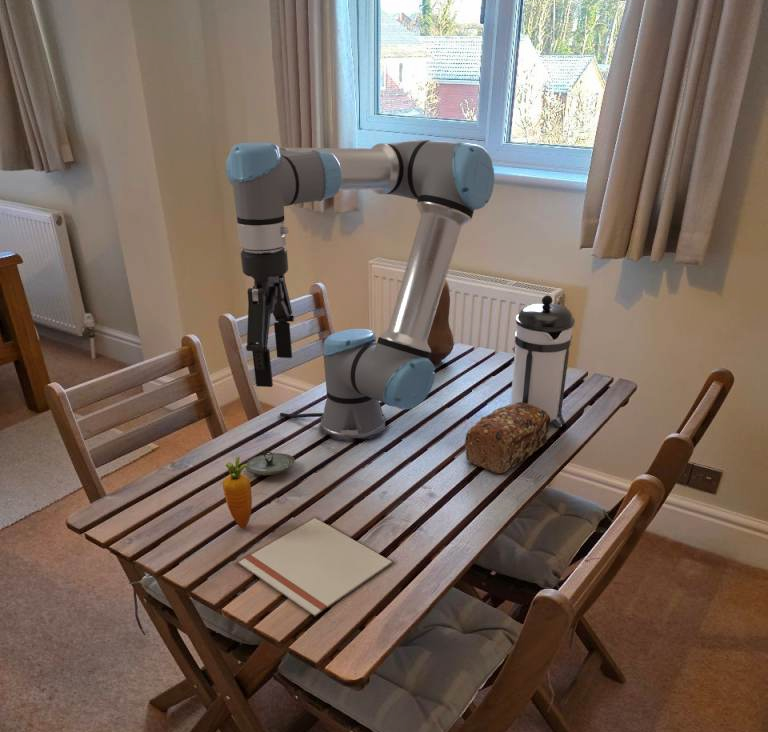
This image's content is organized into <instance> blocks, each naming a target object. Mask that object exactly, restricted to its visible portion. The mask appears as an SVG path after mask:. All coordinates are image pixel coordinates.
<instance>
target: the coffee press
mask: <svg viewBox="0 0 768 732" xmlns="http://www.w3.org/2000/svg"><path fill="white" fill-rule="evenodd" d="M553 301H554V300H553V297H552V296H551V295H547V294H546V295H544V296H543V297H542V299H541V302H536V303H531V304H528V305H526V306H524V307H523V308H521V310H520V311H519V312H518V314H517V315H516V317H515V324H516V331H515V333H514V334H515V335H514V344H515V345H514V347H515V353H514V356H513V357H514V358H513V367H512V368H513V371H512V381H511V392H510V393H511V394H510V404H509V405H512V404H516V403H519V402H523V403H526V404H530V405H532V406H535V407H537V408H539V409H541V410H544V411H546V412H547V413H548V414H549V416H550V422H553V423H554V424H555V425H556V426H557V428H563V427H564V426H565V424H566V421H565V420H564V418H563V414H562V412H563V411H562V410H563V404H564V394H565V387H566V381H567V379H566V378H567V371H568V365H569V364H568V363H569V356H570V348H571V345H572V339H573V336H572V332H573V328H574V326H575V321H576V319H575V317H574V316H573V313H572V311H571V310H570V309H568V308H567V307H565V306H563V305H560V304H557V303H553ZM557 419H559V420H557ZM559 421H560V422H559Z"/></svg>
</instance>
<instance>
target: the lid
mask: <svg viewBox="0 0 768 732" xmlns="http://www.w3.org/2000/svg"><path fill="white" fill-rule="evenodd" d="M295 461H296V459H295V457H294V456H292V455H290V454H288V453H281V452H271V451H270V450H267V451H264V452H263V454H261V455H257V456H254V457H252V458H250V459H249V460H247V462H246V463H245V464H246V465H247V467H245V468H244V469H245V470H246V471H247V472H248V473H250V474H253V475H258V476H272V475H276V474H279V473H283V472H285V471H287V470H289V469H290V468H291V467H292V466H294V464H295Z"/></svg>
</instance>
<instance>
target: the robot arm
mask: <svg viewBox="0 0 768 732" xmlns="http://www.w3.org/2000/svg"><path fill="white" fill-rule="evenodd" d="M225 173H226V177H227V179H228V181H229V183H230V185H231V186H232V189H233V197H234V207H235V212H236V213H235V215H236V226H237V235H238V236H237V237H238V245H239V247H240V249H242V250H241V252H240V261H241V269H242V273H243V274H244V275H245V276H247V277H250V278H252V279H253V286H252V288H250V287H249V288H247V291H246V292H247V302H248V303H247V305H248V306H247V309H248V310H247V333H246V334H247V337H246V346H245V349H246V352H252V360H253V370H254V378H255V387H260V388H261V387H263V388H264V387H265V388H272V387H273V386H274V384H273V383H274V382H273V372H272V362H271V352H270V348H268V345H269V334H270V325H271V316H272V315H273V317H274V320H275V321H274V323H273V327H274V338H275V339H274V340H275V349H276V358H277V359H279V358H280V359H292V358H293V347H292V335H291V324H290V323H292V322H293V323H294V322H295V316H294V314H293V308H292V304H291V301H290V300H291V299H290V297H289V291H288V287H287V283H286V277H285V274H286V273H288V271H289V259H288V250H287V249H286V248H285V246H286V245H287V239H286V235H287V234H288V233H289V228H288V227H286V226H285V207H287V206H292V205H299V204H304V203H305V204H306V203H313V202H322V201H324V200H327V199H328V200H329V199H330V198H331V199H332V198H334V197H335V196H336V195H337V194H338V193H339V192H343V191H367V190H369V191H370V190H371V191H373V192H374V193H376V194H378V195H393V196H398V197H403V198H408V199H411V200H415V201H416V202H417V203H416V207H417V209H418V210H419V213H420V219H419V222H418V225H417V229H416V231H415V232H416V233H415V236H414V238H413V242H412V246H411V249H410V253H409V257H408V260H407V263H406V266H405V270H404V272H403V273H404V274H403V277H402V280H401V284H400V287H399V290H398V295H397V298H396V301H395V305H394V308H393V312H392V315H391V318H390V322H389V325H388V329H387V330H386V331H384V332H383V333H381V334H379V335H378V337H376V334H375V331H374V330H371V329H369V328H368V329H366V328H350V329H345V330H340V331H337V332H334V333H331V334H329V335H328V336H327V337H326V338H325V339H324V341H323V354H322V356H323V365H324V367H323V368H324V377H325V390H326V401H325V404H324V409H323V412H313V413H311V412H310V413H296V414H295V413H294V414H293V413H286V412H280V413H279V417H284V418H289V419H301V418H317V417H318V418H321V419H320V425H321V431H322V433H323V434H324V435H325V436H327V437H328V438H331V439H333V440H338V441H344V442H358V441H360V442H361V441H365V440H368V439H372V438H374V437H377V436H379V435H380V434H381V433H382V432H383V431H384V430H385V429H386V415H385V413H384V411H383V408H382V406H381V403H382V404H385V405H386V406H388V407H393V408H397V409H400V410H411V409H414V408H416V407H417V406H418V405H419V404H421V403H422V402H424V400H425V399H426V398H427V397H428V395H429V393H430V392H431V390H432V389H433V386H434V383H435V380H436V379H435V378H436V371H435V370H436V369H435V365H433V364H432V363H431V361H430V360H429V357H430V354H431V349H430V347H429V346H428V343H427V339H428V336H429V333H430V329H431V326H432V323H433V319H434V316H435V313H436V309H437V306H438V303H439V300H440V296H441V293H442V290H443V286H444V283H445V280H447V276H448V273H449V269H450V266H451V263H452V260H453V256H454V254H455V250H456V246H457V242H458V239H459V236H460V234H461V233H460V232H461V230H462V228H463V227H464V226H466V225H467V224H469V223H471V222H472V219H473V215H474V212H475V211H476V210H480V209H482V208H484V207H485V206H486V204H488V203H489V201H490V200H491V197H492V195H493V192H494V188H495V187H494V186H495V169H494V166H493V160H492V158H491V156H490V154H489V152H488V151H487V149H485V148H484V147H483V146H482V145H479V144H475V143H468V142H466V141H460V142H459V141H458V142H457V141H443V140H430V139H416V140H407V141H400V142H399V141H398V142H388V143H387V142H386V143H384V142H381V143H376V144H375V145H373V146H372V147H370V148H351V147H350V148H349V147H348V148H345V147H343V148H341V147H340V148H339V147H338V148H336V147H335V148H334V147H323V148H322V147H279V146H278V145H277V144H276V143H273V142H264V141H263V142H242V143H237V144H234V145H233V146H232V147H231V149H230V153H229V154H228V156H227V159H226V162H225ZM376 340H377V341H376ZM380 402H381V403H380Z"/></svg>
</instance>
